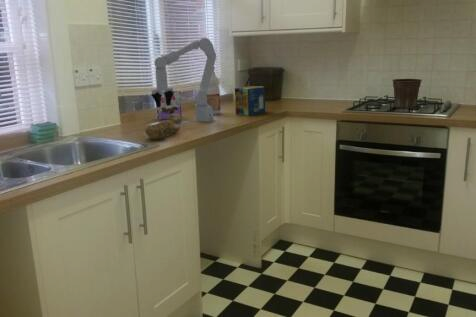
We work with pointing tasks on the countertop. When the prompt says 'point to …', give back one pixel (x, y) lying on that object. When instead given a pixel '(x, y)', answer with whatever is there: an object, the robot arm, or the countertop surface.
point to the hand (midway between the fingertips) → (163, 106)
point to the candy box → (169, 106)
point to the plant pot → (406, 92)
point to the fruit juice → (214, 94)
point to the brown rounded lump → (162, 130)
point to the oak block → (175, 118)
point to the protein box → (250, 100)
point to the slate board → (177, 123)
